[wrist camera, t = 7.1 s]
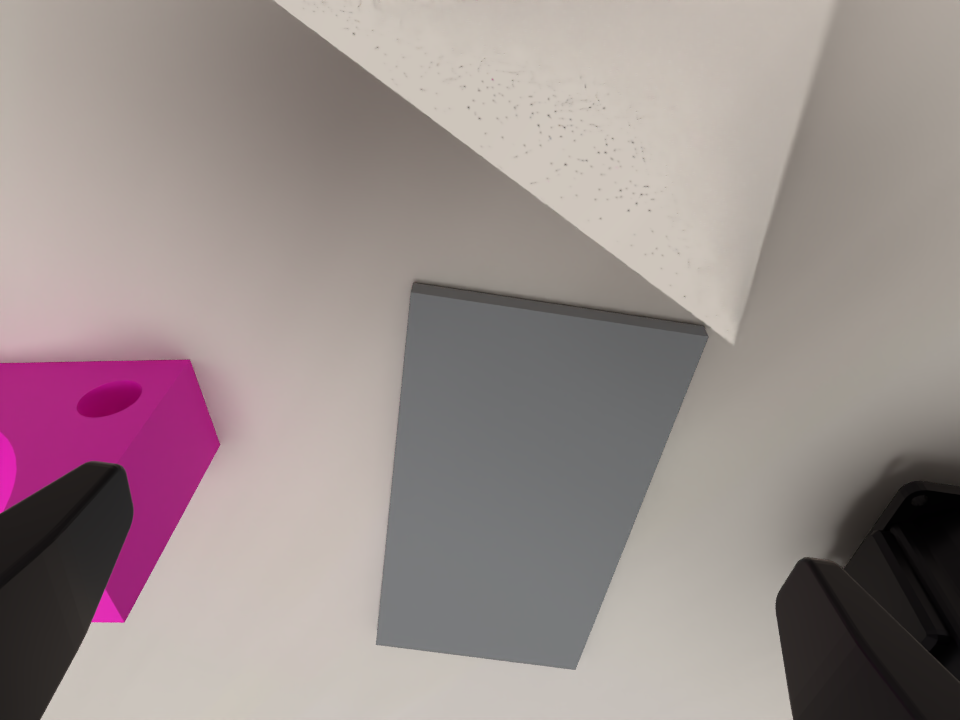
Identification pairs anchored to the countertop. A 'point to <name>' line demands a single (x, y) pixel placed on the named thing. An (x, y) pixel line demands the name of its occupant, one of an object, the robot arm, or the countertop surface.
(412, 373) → the mat
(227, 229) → the countertop surface
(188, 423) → the magenta arched bracket
